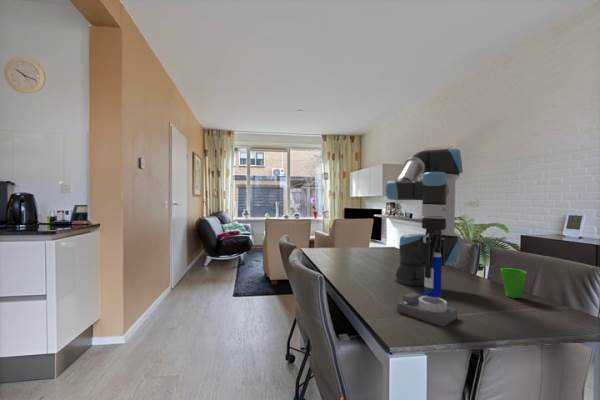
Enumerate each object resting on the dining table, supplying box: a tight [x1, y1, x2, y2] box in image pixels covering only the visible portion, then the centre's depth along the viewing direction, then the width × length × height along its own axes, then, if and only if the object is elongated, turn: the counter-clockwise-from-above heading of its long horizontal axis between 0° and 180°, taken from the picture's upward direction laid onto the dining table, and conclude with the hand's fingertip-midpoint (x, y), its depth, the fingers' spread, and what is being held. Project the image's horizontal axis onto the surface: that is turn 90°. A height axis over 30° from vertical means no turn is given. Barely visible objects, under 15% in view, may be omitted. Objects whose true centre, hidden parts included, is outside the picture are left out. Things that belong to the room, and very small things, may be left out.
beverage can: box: [423, 252, 443, 299], centre depth 99 cm, size 5×5×15 cm
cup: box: [499, 267, 528, 299], centre depth 122 cm, size 9×9×11 cm
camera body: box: [396, 291, 458, 327], centre depth 101 cm, size 16×11×6 cm
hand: (432, 285), depth 99 cm, fingers closed on beverage can, 5 cm apart
